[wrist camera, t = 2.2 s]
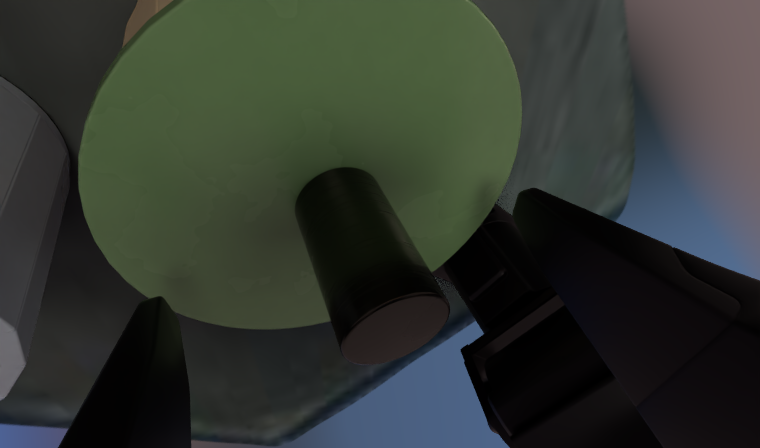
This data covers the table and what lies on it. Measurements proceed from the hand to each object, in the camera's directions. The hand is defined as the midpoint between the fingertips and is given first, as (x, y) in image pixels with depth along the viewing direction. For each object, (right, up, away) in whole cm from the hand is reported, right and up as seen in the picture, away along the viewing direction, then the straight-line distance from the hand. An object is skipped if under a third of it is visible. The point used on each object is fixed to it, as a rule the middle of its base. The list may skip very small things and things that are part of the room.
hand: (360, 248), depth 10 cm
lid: (-1, +1, +1) cm, 2 cm away
